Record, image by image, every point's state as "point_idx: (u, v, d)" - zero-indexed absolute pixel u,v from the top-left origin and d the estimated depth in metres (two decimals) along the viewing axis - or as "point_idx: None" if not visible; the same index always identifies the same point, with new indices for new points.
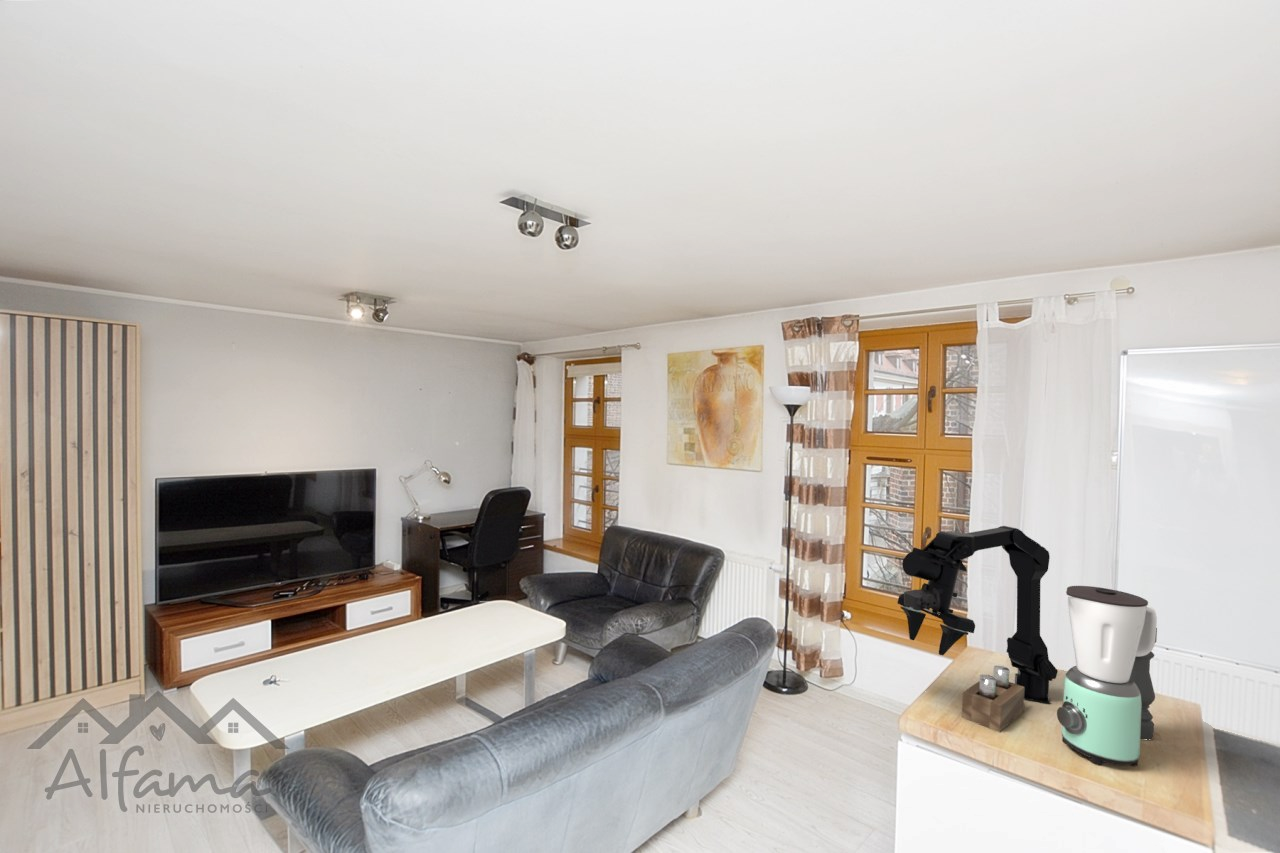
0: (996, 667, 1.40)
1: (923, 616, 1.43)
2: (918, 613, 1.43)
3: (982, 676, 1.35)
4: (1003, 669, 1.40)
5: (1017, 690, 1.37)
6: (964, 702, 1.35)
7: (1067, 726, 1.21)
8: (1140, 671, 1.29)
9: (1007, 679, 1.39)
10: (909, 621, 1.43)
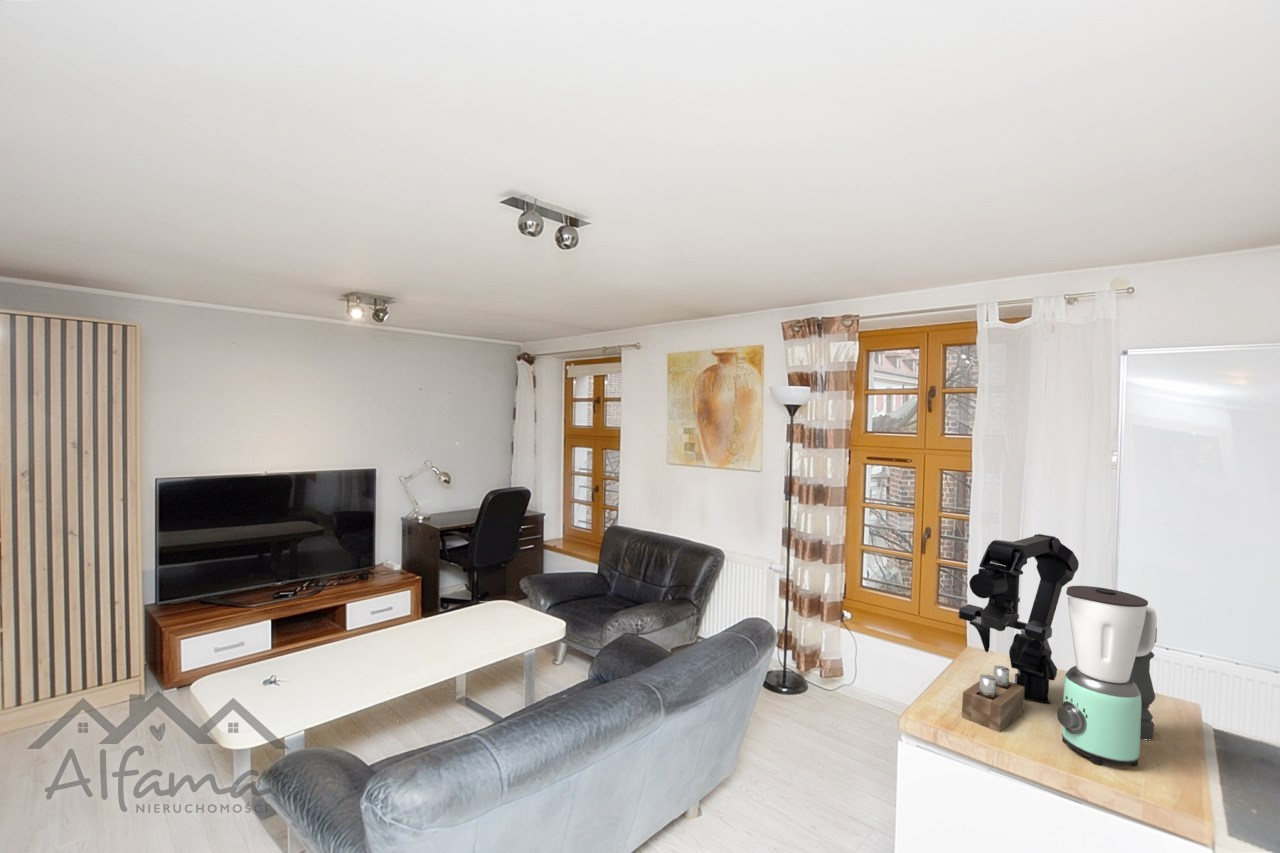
0: (996, 667, 1.40)
1: None
2: None
3: (982, 676, 1.35)
4: (1003, 669, 1.40)
5: (1017, 690, 1.37)
6: (964, 702, 1.35)
7: (1067, 726, 1.21)
8: (1140, 671, 1.29)
9: (1007, 679, 1.39)
10: (982, 634, 1.42)
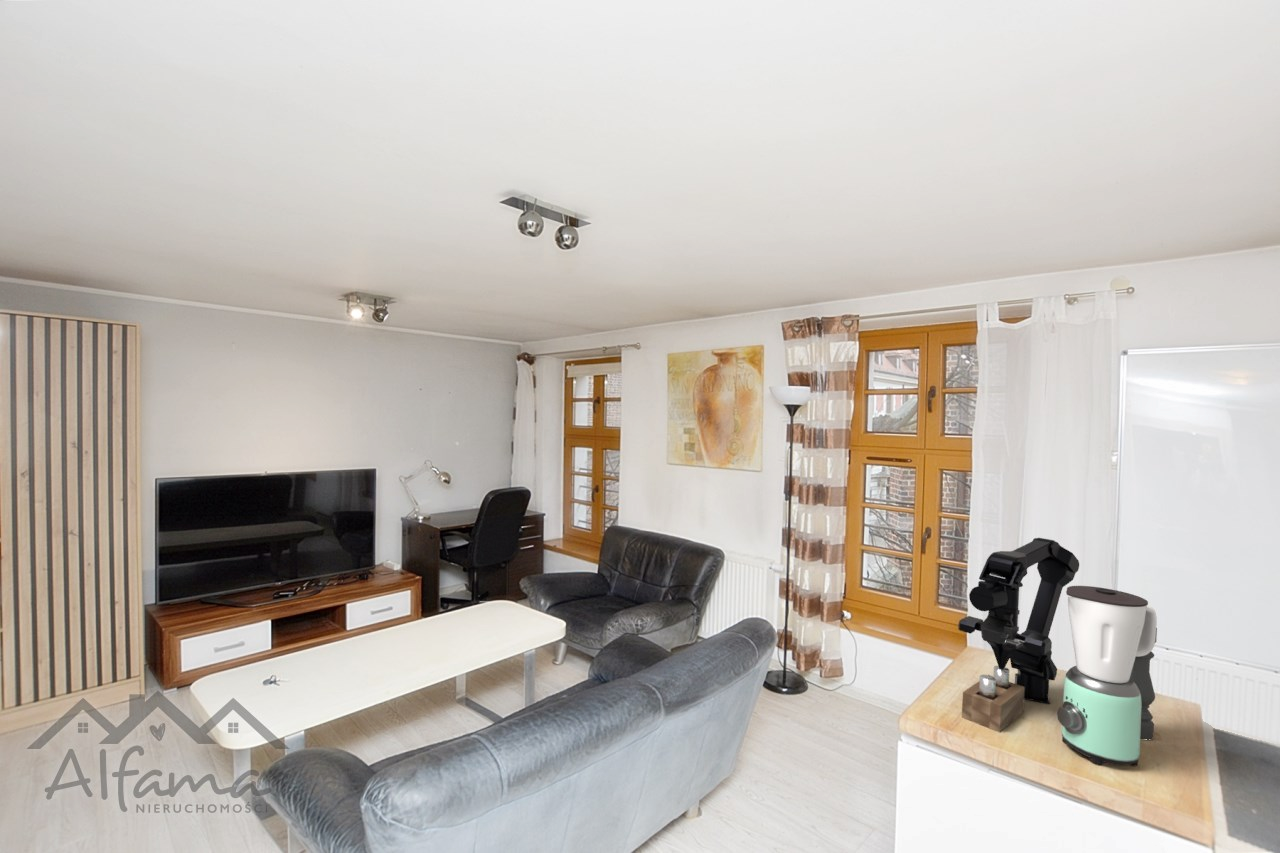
0: (996, 667, 1.40)
1: None
2: None
3: (982, 676, 1.35)
4: (1003, 669, 1.40)
5: (1017, 690, 1.37)
6: (964, 702, 1.35)
7: (1067, 726, 1.21)
8: (1140, 671, 1.29)
9: (1007, 679, 1.39)
10: (996, 651, 1.40)
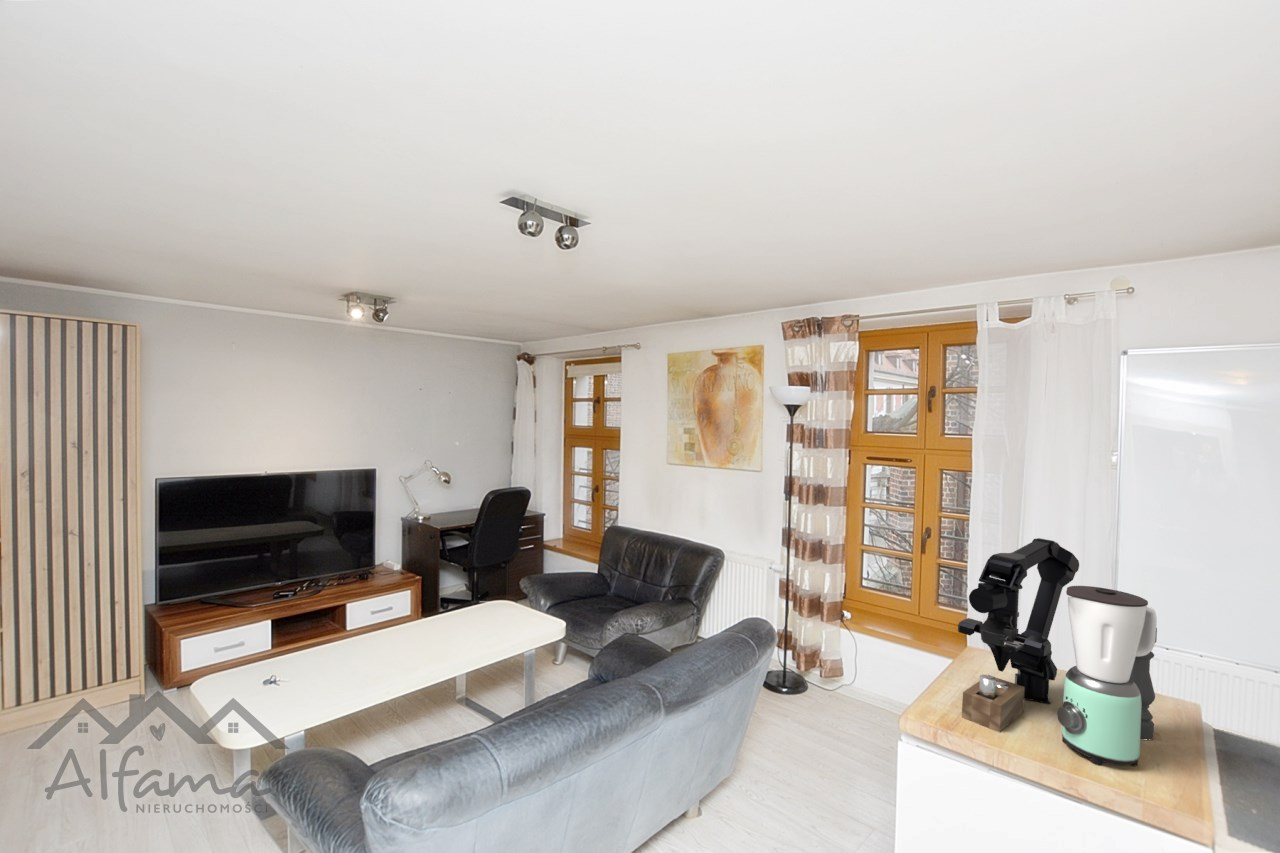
0: None
1: None
2: None
3: (982, 676, 1.35)
4: (1002, 685, 1.40)
5: (1017, 690, 1.37)
6: (964, 702, 1.35)
7: (1067, 726, 1.21)
8: (1140, 671, 1.29)
9: None
10: (995, 653, 1.40)
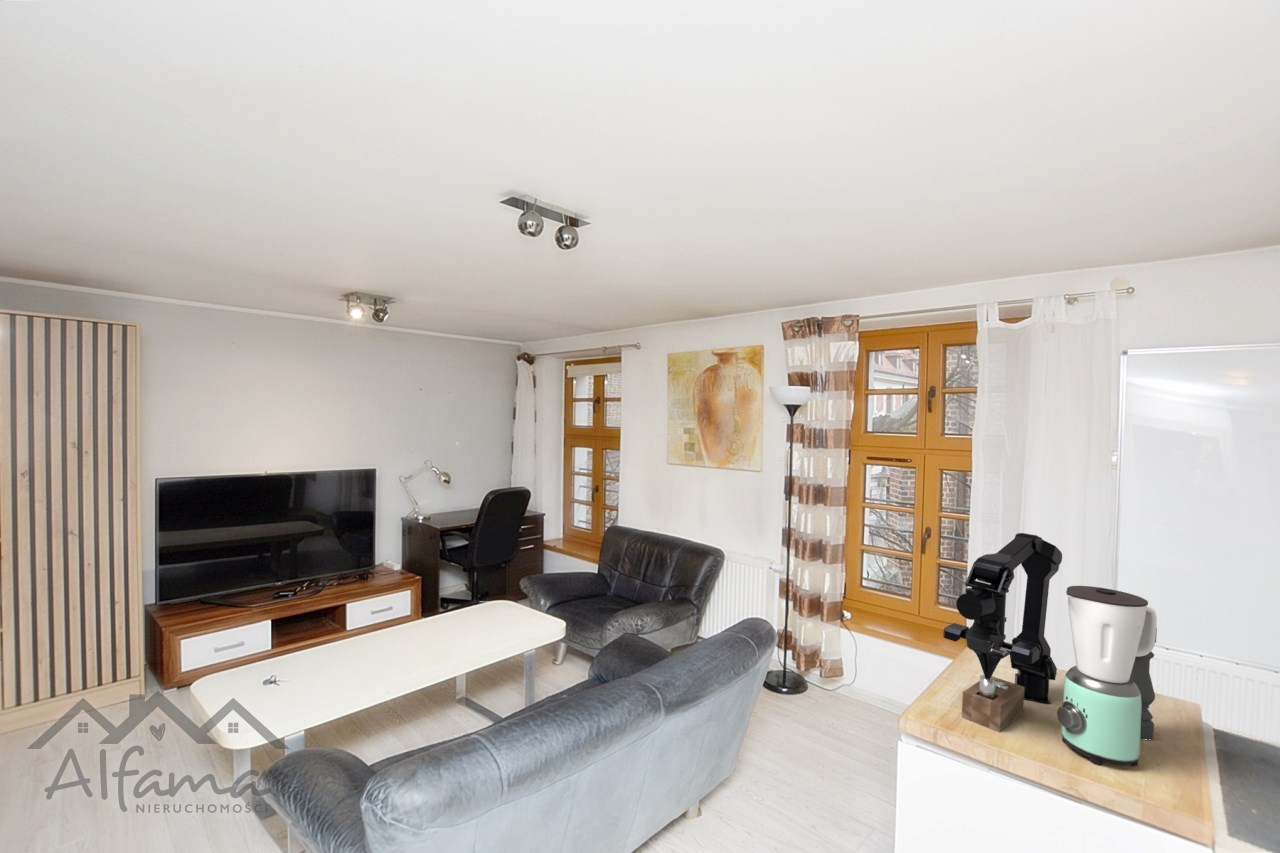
0: None
1: None
2: None
3: (982, 676, 1.35)
4: (1002, 685, 1.40)
5: (1017, 690, 1.37)
6: (964, 702, 1.35)
7: (1067, 726, 1.21)
8: (1140, 671, 1.29)
9: None
10: (982, 660, 1.34)
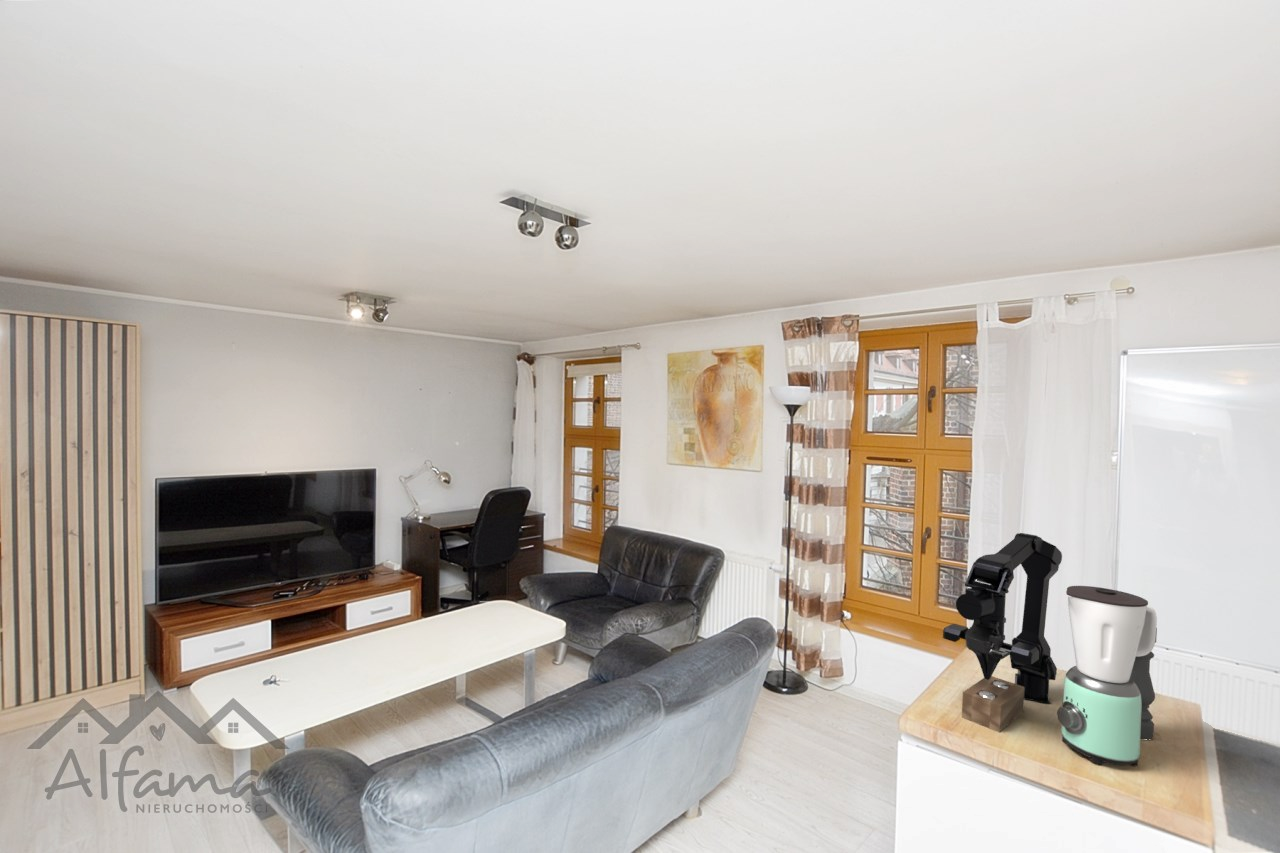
0: (995, 683, 1.40)
1: None
2: None
3: (981, 693, 1.35)
4: (1002, 685, 1.40)
5: (1017, 690, 1.37)
6: (964, 702, 1.35)
7: (1067, 726, 1.21)
8: (1140, 671, 1.29)
9: None
10: (981, 660, 1.34)
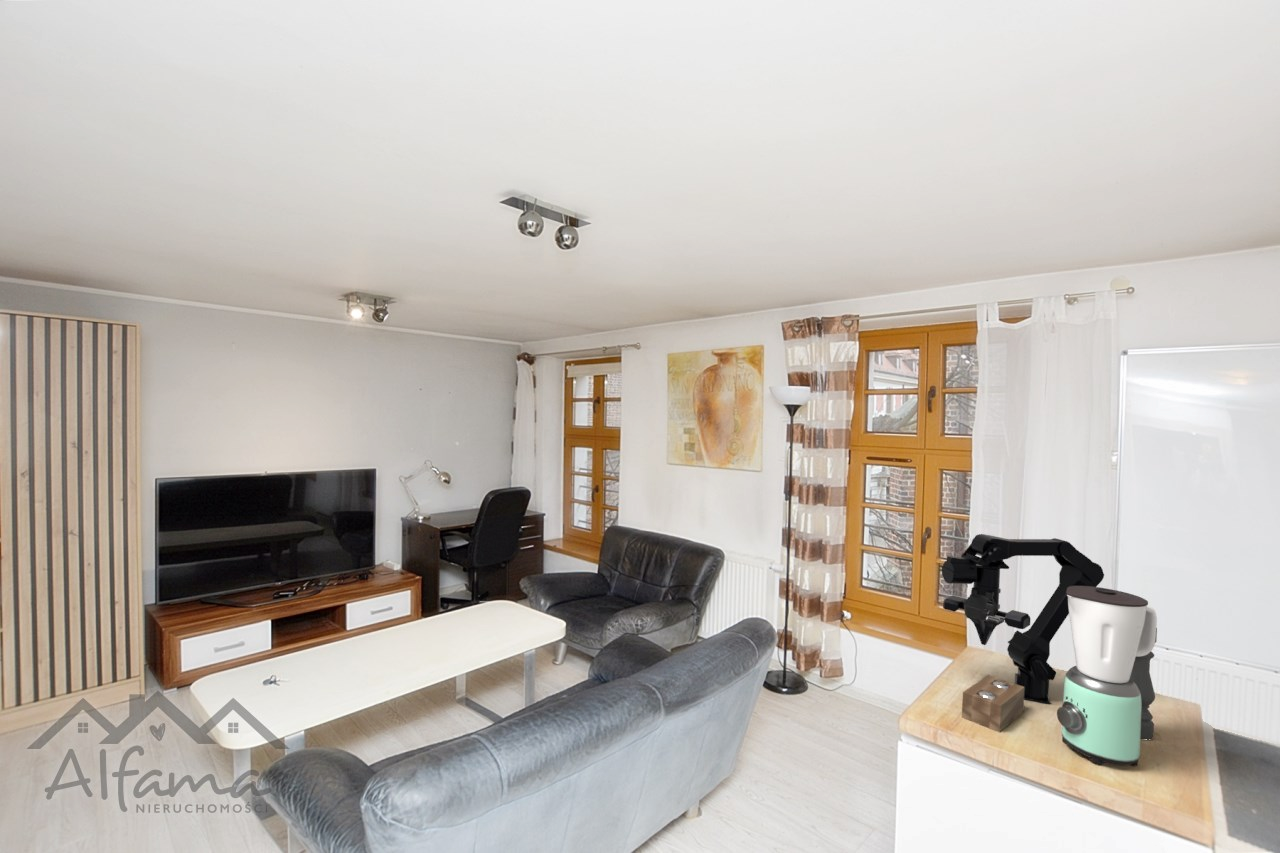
0: (995, 683, 1.40)
1: None
2: None
3: (981, 693, 1.35)
4: (1002, 685, 1.40)
5: (1017, 690, 1.37)
6: (964, 702, 1.35)
7: (1067, 726, 1.21)
8: (1140, 671, 1.29)
9: None
10: (978, 627, 1.47)
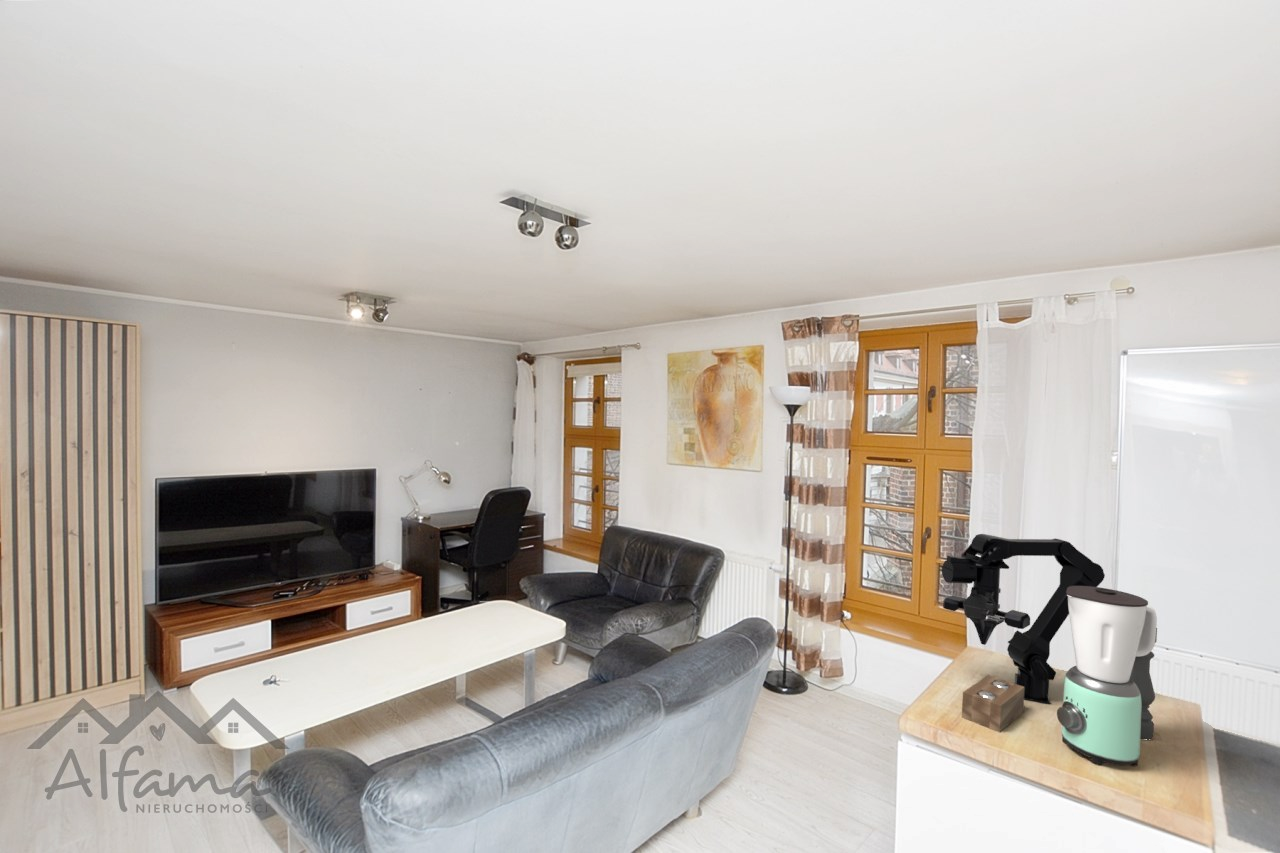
0: (995, 683, 1.40)
1: (985, 617, 1.49)
2: None
3: (981, 693, 1.35)
4: (1002, 685, 1.40)
5: (1017, 690, 1.37)
6: (964, 702, 1.35)
7: (1067, 726, 1.21)
8: (1140, 671, 1.29)
9: None
10: (978, 627, 1.47)
